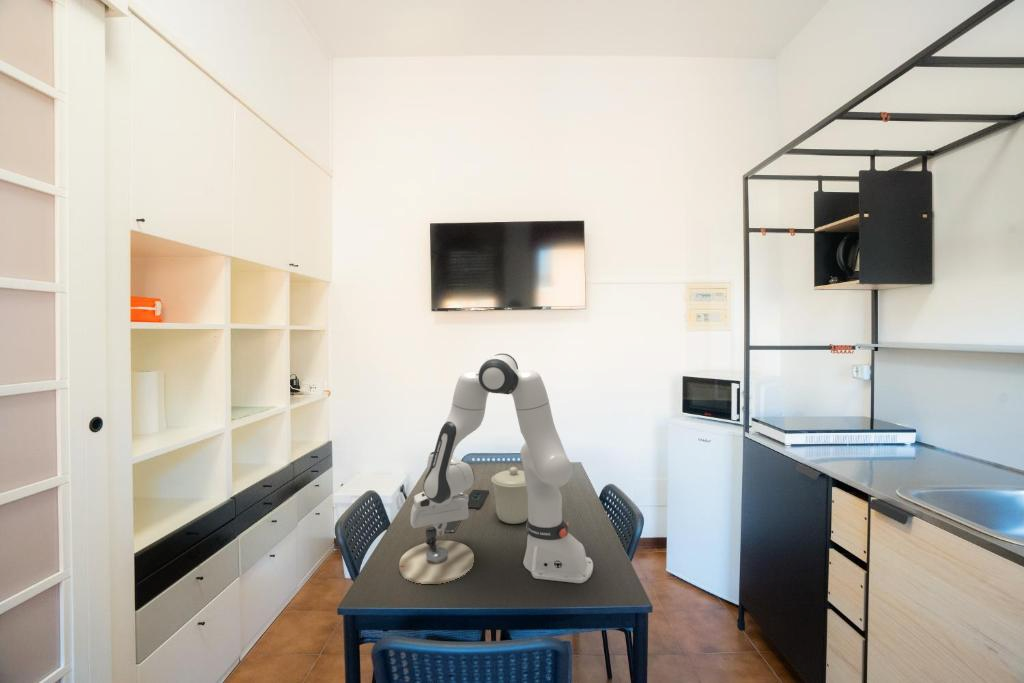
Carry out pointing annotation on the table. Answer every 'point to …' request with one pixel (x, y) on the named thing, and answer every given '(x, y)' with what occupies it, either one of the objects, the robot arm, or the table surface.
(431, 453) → the robot arm
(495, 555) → the table surface
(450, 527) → the smartphone
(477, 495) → the smart home device
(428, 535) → the crank handle
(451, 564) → the base
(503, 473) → the canister
